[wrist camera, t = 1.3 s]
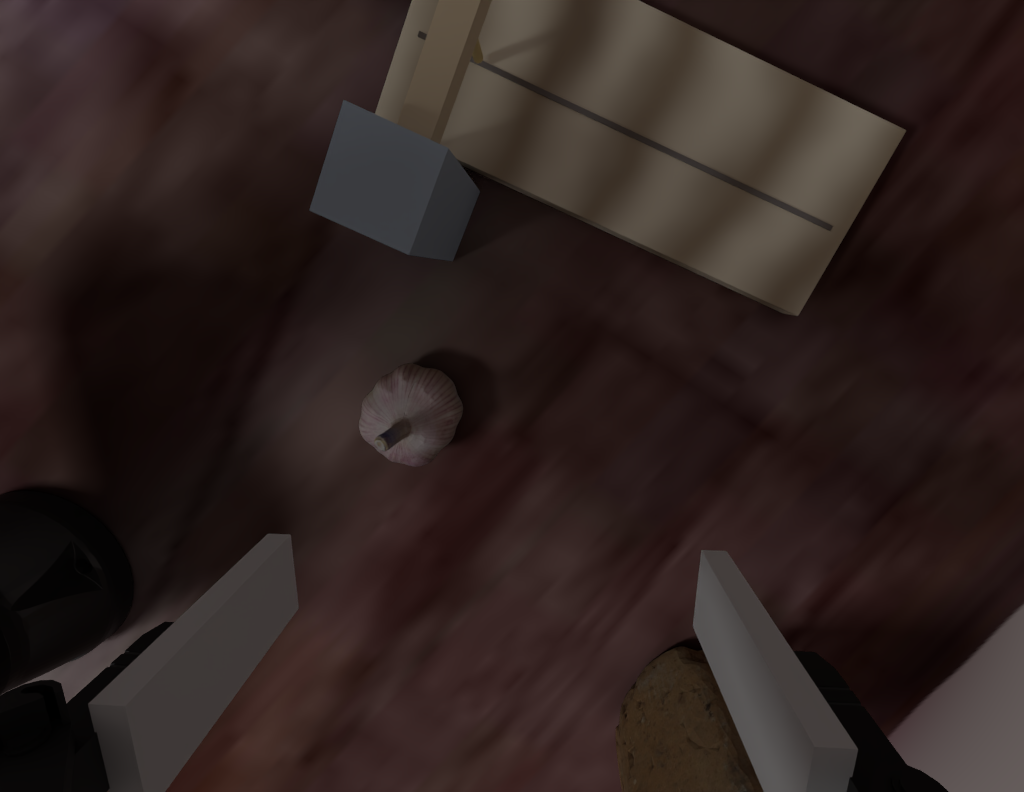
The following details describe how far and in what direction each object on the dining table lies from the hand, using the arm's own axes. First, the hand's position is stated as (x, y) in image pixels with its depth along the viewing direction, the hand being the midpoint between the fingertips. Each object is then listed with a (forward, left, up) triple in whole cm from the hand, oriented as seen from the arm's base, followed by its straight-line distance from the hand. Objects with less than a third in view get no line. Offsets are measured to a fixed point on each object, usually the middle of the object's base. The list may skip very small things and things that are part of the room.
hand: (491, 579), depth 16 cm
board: (-1, +20, -22) cm, 29 cm away
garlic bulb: (-7, -3, -22) cm, 24 cm away
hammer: (-11, +14, -22) cm, 28 cm away
